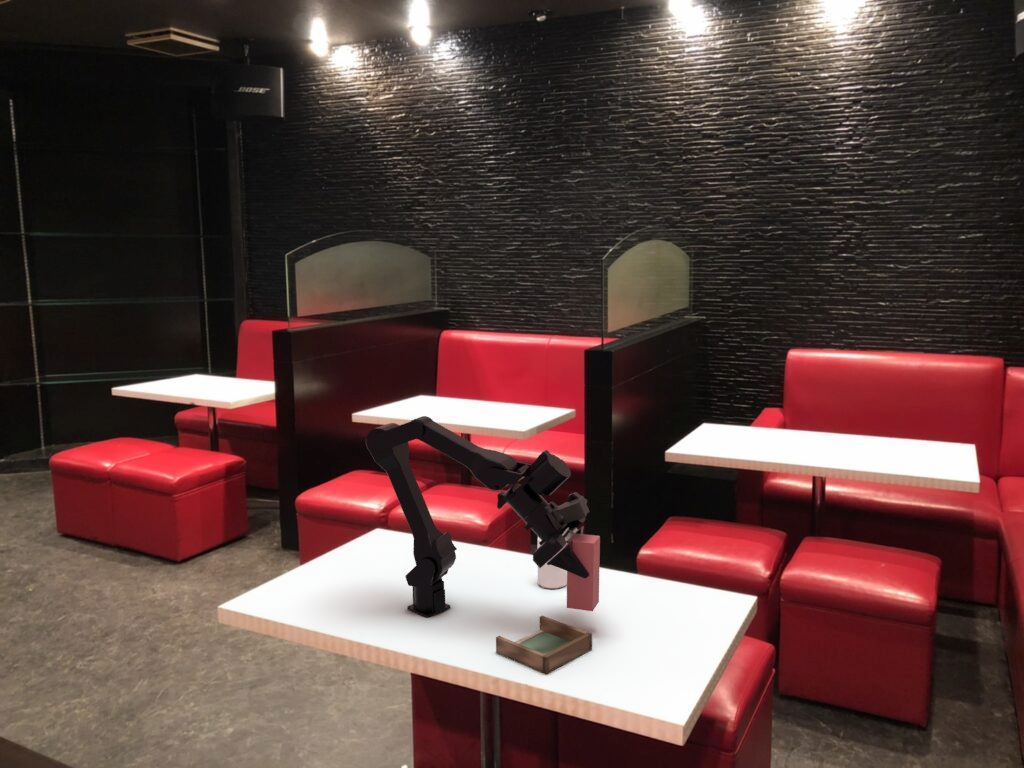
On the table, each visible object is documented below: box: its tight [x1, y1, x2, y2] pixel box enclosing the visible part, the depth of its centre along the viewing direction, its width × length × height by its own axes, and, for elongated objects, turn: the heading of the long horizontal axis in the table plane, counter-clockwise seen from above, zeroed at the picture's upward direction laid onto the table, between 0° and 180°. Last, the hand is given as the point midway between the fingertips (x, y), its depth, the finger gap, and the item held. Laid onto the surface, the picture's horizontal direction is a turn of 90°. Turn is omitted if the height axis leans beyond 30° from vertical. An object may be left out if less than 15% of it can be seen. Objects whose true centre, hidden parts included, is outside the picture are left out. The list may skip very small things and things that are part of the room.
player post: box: [566, 533, 601, 612], centre depth 159 cm, size 5×5×13 cm
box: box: [495, 615, 593, 675], centre depth 152 cm, size 12×13×3 cm
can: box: [536, 536, 567, 590], centre depth 184 cm, size 6×6×12 cm
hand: (590, 571), depth 159 cm, fingers closed on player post, 5 cm apart
